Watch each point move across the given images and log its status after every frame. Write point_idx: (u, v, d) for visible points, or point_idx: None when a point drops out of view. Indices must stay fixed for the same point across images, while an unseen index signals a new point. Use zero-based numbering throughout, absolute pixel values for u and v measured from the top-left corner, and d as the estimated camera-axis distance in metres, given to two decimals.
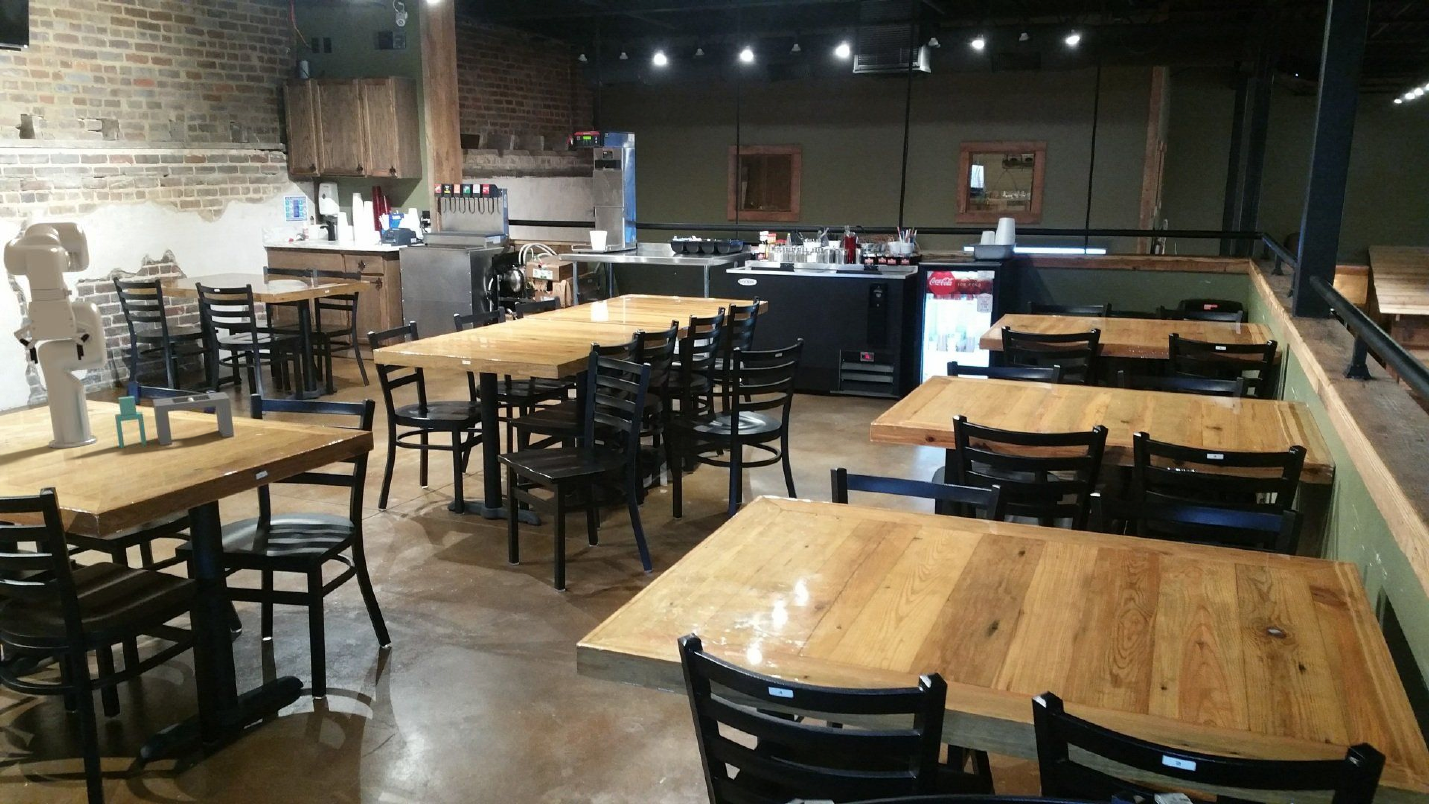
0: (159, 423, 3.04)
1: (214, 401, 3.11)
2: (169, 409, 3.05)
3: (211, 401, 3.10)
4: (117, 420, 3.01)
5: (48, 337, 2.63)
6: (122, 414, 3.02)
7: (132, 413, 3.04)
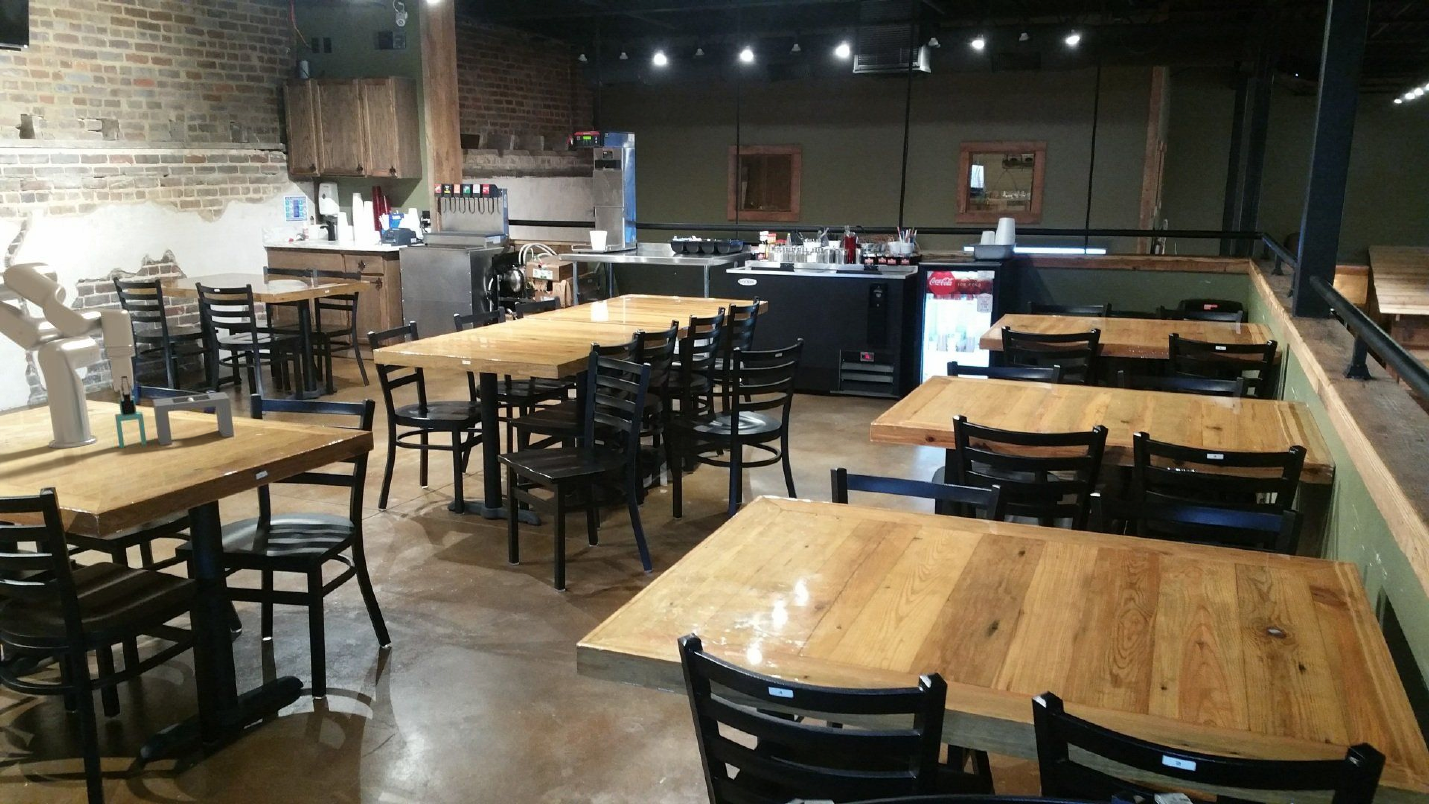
0: (159, 423, 3.04)
1: (214, 401, 3.11)
2: (169, 409, 3.05)
3: (211, 401, 3.10)
4: (117, 420, 3.01)
5: None
6: (122, 414, 3.02)
7: None
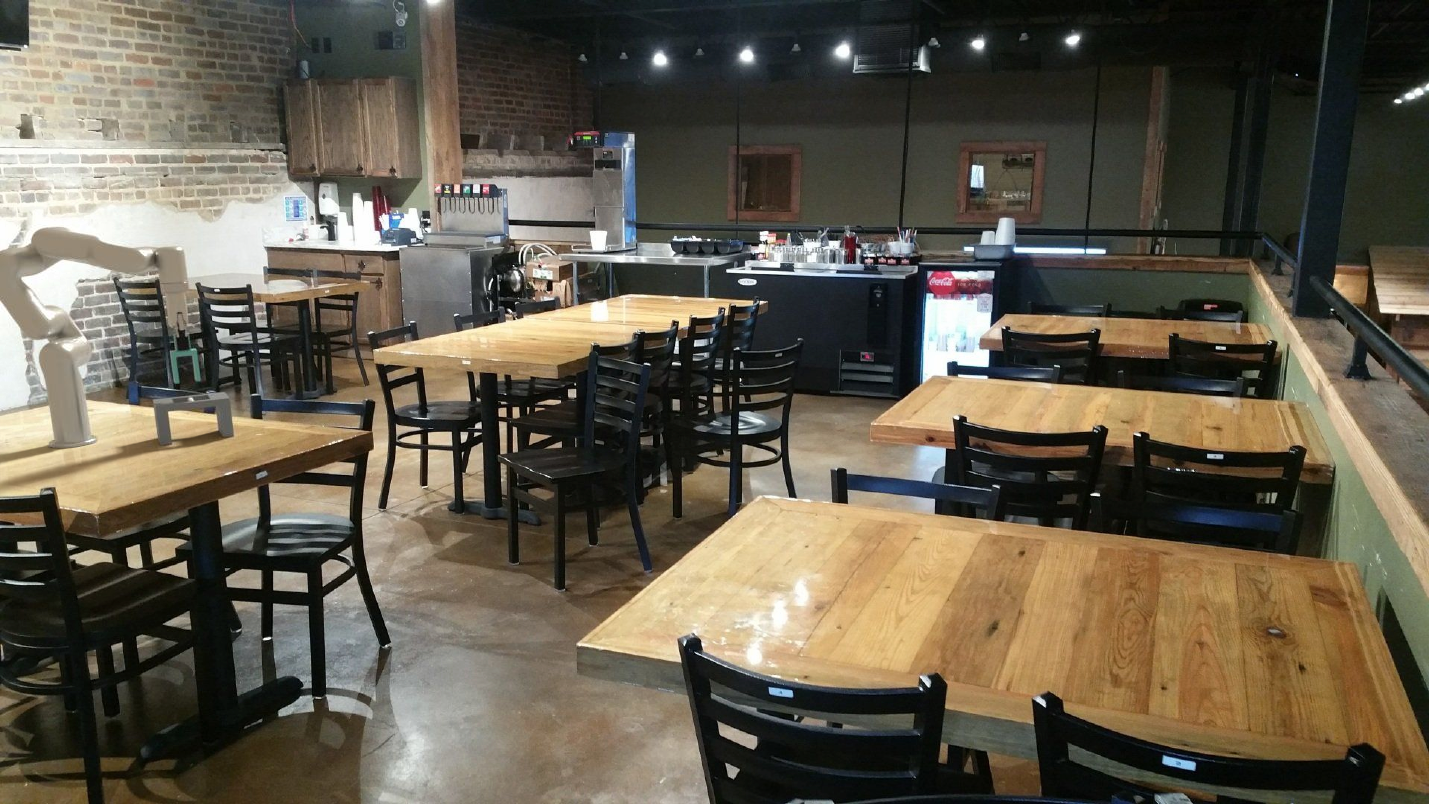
0: (159, 423, 3.04)
1: (214, 401, 3.11)
2: (169, 409, 3.05)
3: (211, 401, 3.10)
4: (172, 356, 3.06)
5: None
6: (177, 350, 3.07)
7: None
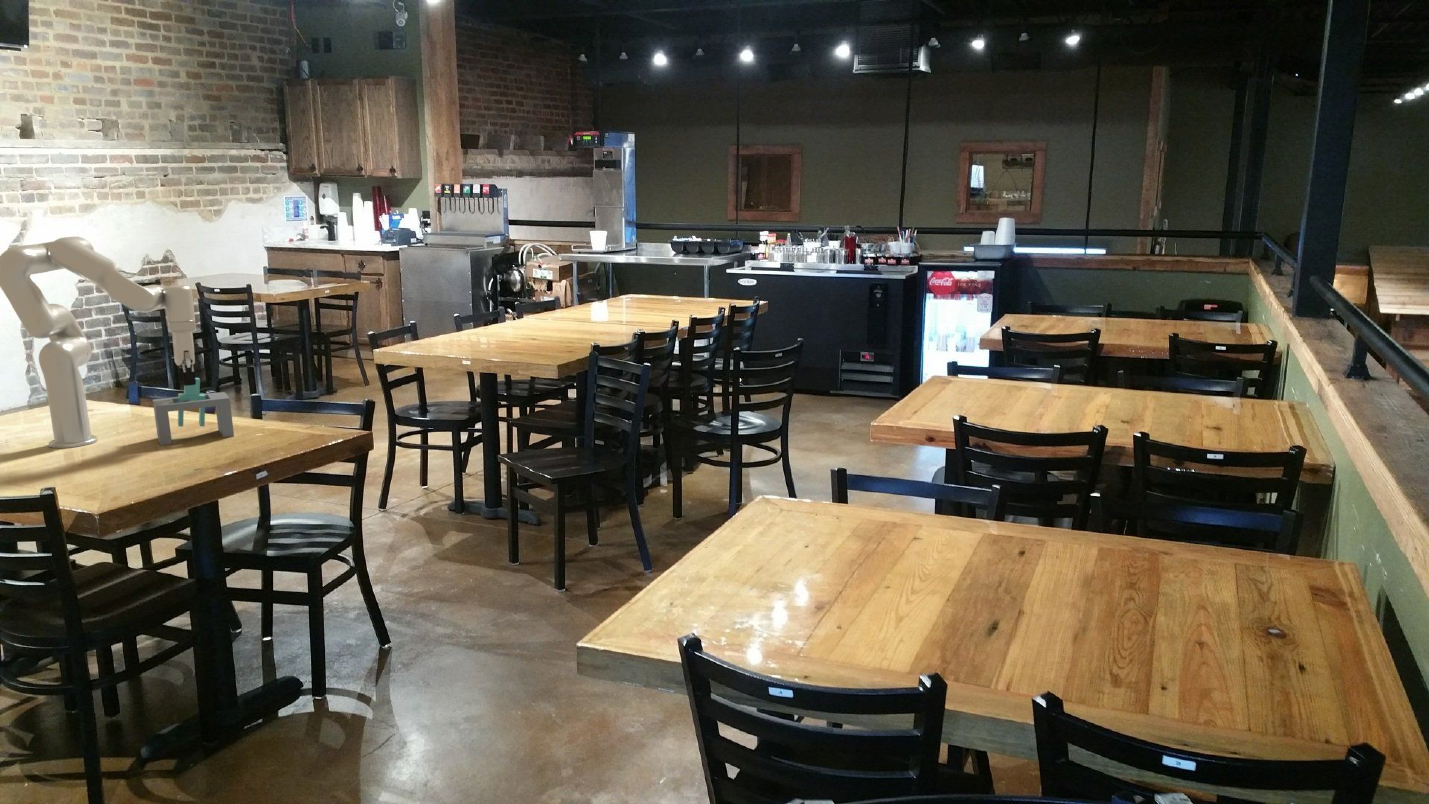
0: (159, 423, 3.04)
1: (214, 401, 3.11)
2: (169, 409, 3.05)
3: (211, 401, 3.10)
4: (180, 399, 3.10)
5: None
6: (186, 394, 3.11)
7: (195, 394, 3.12)
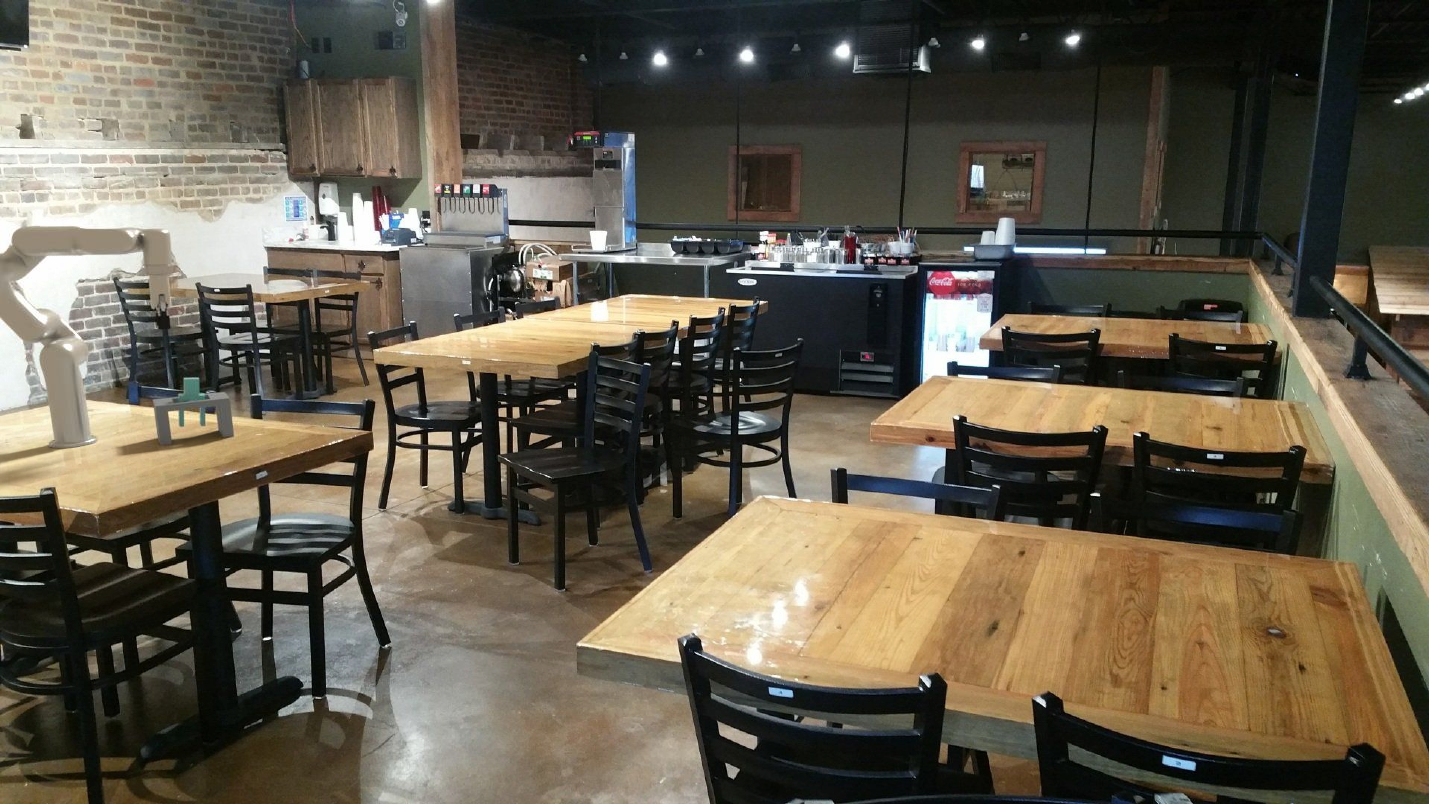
0: (159, 423, 3.04)
1: (214, 401, 3.11)
2: (169, 409, 3.05)
3: (211, 401, 3.10)
4: (180, 399, 3.10)
5: None
6: (186, 394, 3.10)
7: (195, 394, 3.12)
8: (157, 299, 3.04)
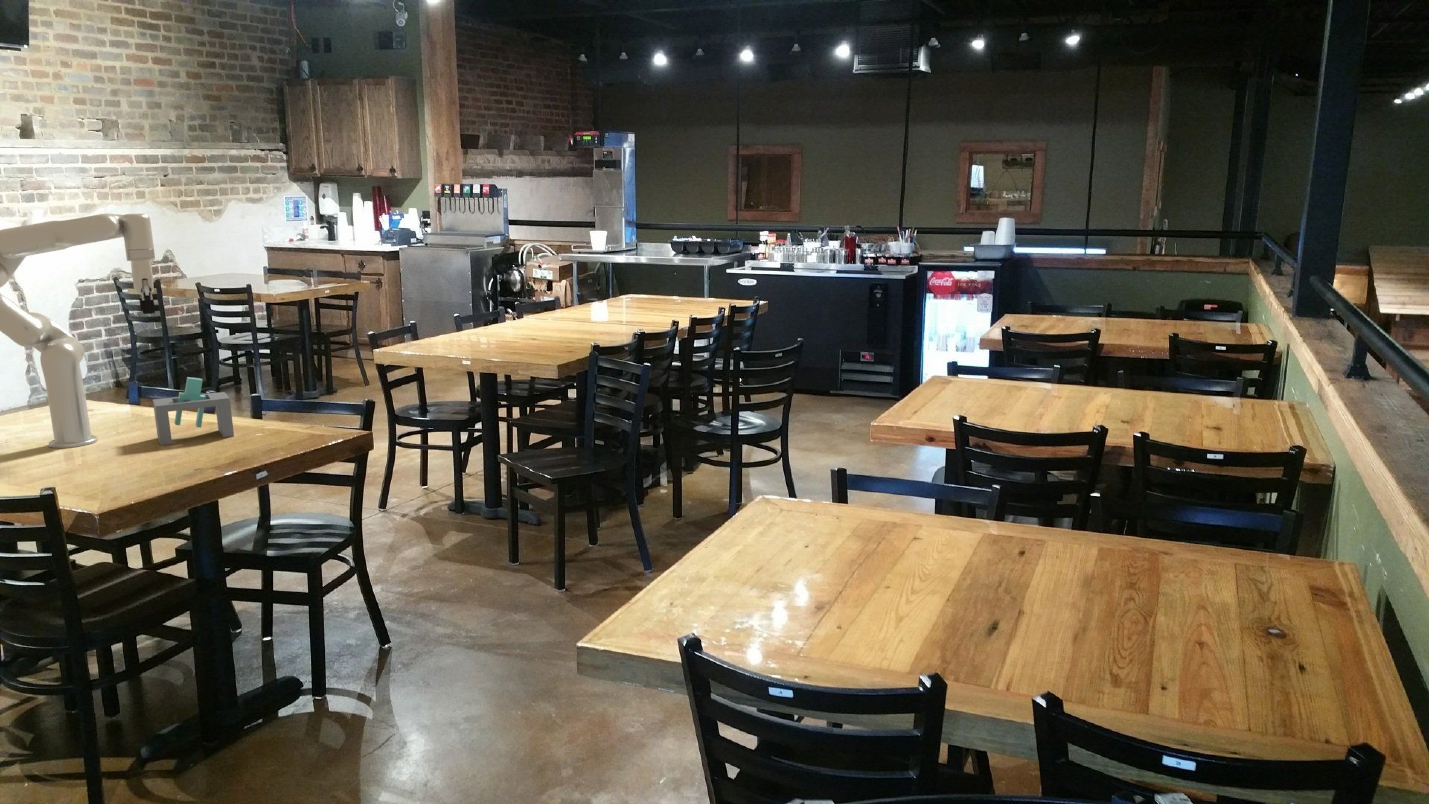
0: (159, 423, 3.04)
1: (214, 401, 3.11)
2: (169, 409, 3.05)
3: (211, 401, 3.10)
4: (181, 398, 3.10)
5: None
6: (187, 393, 3.11)
7: (196, 394, 3.12)
8: (140, 283, 3.05)
